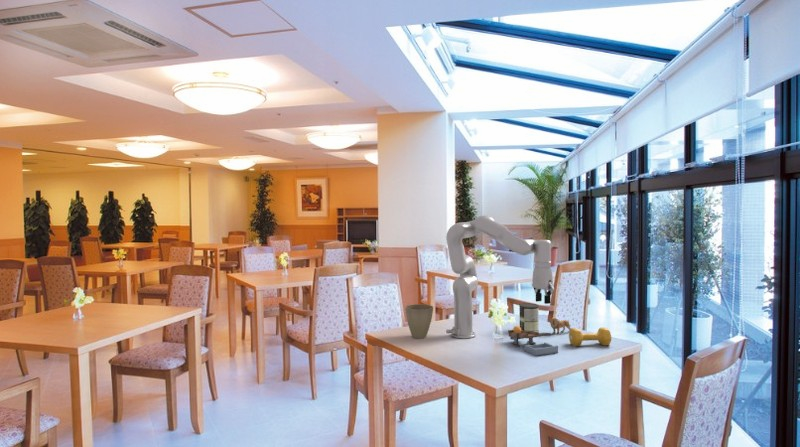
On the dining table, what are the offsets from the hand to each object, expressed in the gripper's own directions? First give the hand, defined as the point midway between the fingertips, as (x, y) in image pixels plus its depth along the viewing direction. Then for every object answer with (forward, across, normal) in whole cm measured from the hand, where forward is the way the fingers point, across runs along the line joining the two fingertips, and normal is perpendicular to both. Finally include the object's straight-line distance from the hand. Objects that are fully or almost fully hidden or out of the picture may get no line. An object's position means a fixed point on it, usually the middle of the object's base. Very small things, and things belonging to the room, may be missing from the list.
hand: (543, 302), depth 231 cm
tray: (+22, +7, -7) cm, 24 cm away
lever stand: (+22, -6, -7) cm, 23 cm away
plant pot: (+22, -41, -47) cm, 66 cm away
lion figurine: (+22, -15, +24) cm, 36 cm away
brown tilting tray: (+19, -6, -4) cm, 20 cm away
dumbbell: (+22, +8, +22) cm, 32 cm away
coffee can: (+22, -27, +13) cm, 37 cm away
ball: (+15, -11, -7) cm, 20 cm away
